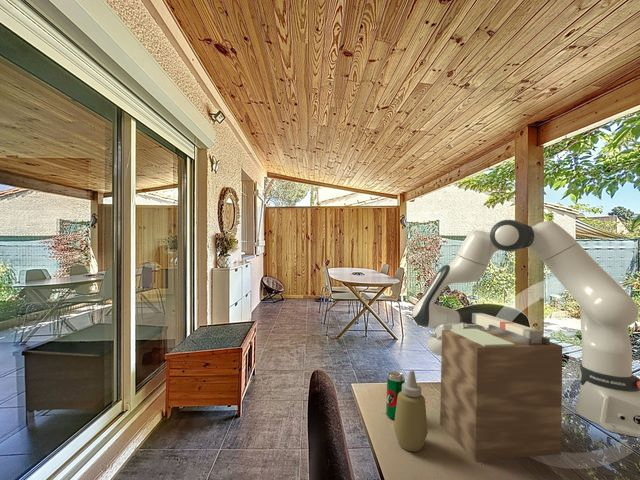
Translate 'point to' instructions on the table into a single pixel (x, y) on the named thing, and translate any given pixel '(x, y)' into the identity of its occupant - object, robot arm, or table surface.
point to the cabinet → (502, 395)
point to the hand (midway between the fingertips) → (478, 324)
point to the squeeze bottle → (410, 416)
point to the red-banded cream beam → (507, 326)
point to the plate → (482, 337)
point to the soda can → (393, 392)
